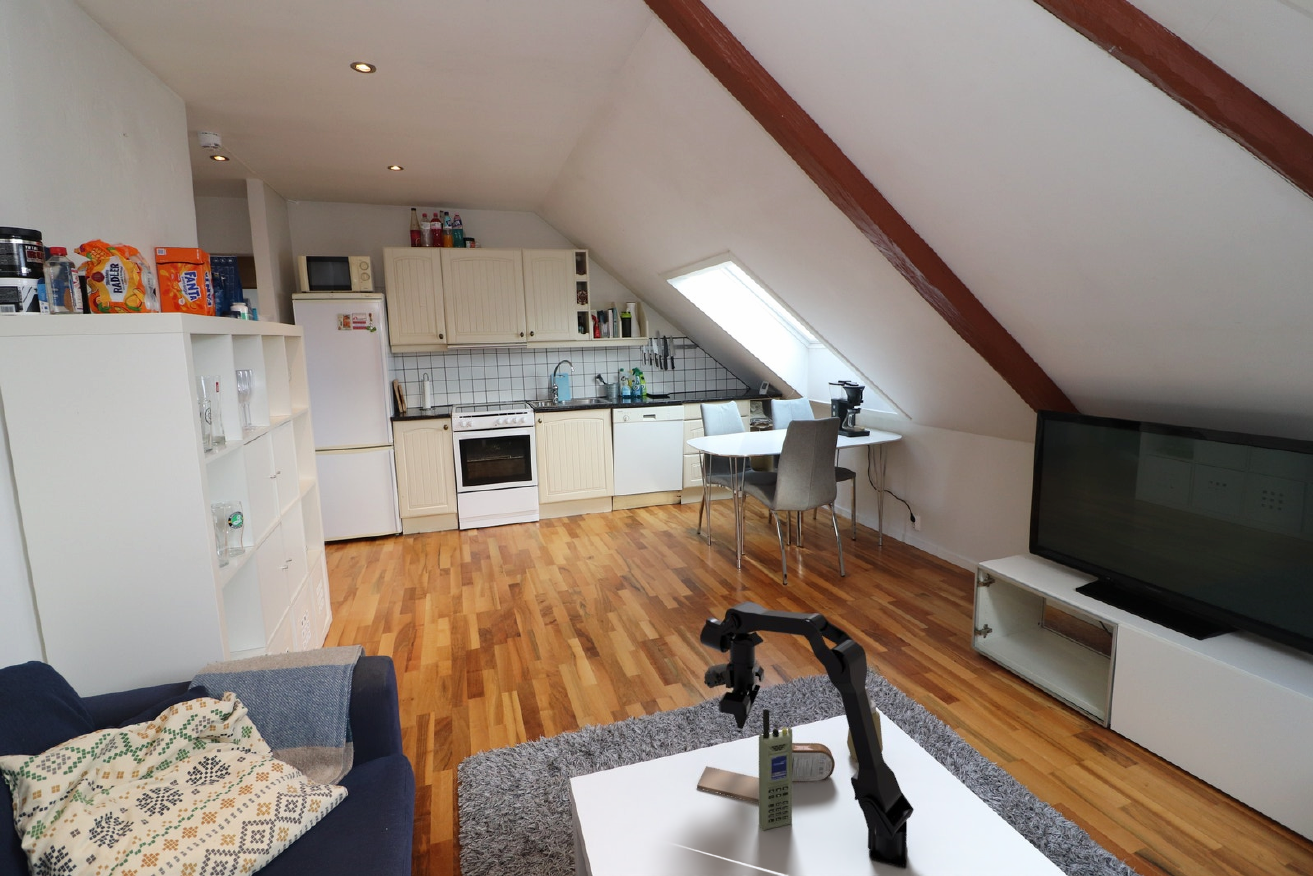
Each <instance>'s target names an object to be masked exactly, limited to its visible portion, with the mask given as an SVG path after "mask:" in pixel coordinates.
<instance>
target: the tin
mask: <svg viewBox="0 0 1313 876" xmlns="http://www.w3.org/2000/svg"><path fill="white" fill-rule="evenodd" d="M835 764H836V763H835V759H834V756H833V754H832V751H831V749H830V748H828V746H826V745H825V744H824V743H823V744H822V743H818V742H792V784H793V783H813V782H815V783H816V782H824V781H826V780H827V779H829V778H831V776H832V774H833V773H834V770H835V766H836V765H835Z"/></svg>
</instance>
